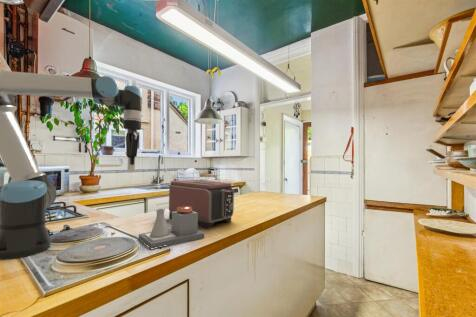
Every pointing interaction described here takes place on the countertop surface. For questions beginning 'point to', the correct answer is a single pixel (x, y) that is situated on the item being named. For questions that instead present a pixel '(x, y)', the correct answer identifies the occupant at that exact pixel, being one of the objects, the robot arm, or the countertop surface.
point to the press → (176, 231)
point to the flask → (160, 225)
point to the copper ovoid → (184, 209)
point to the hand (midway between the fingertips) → (131, 171)
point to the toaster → (203, 200)
